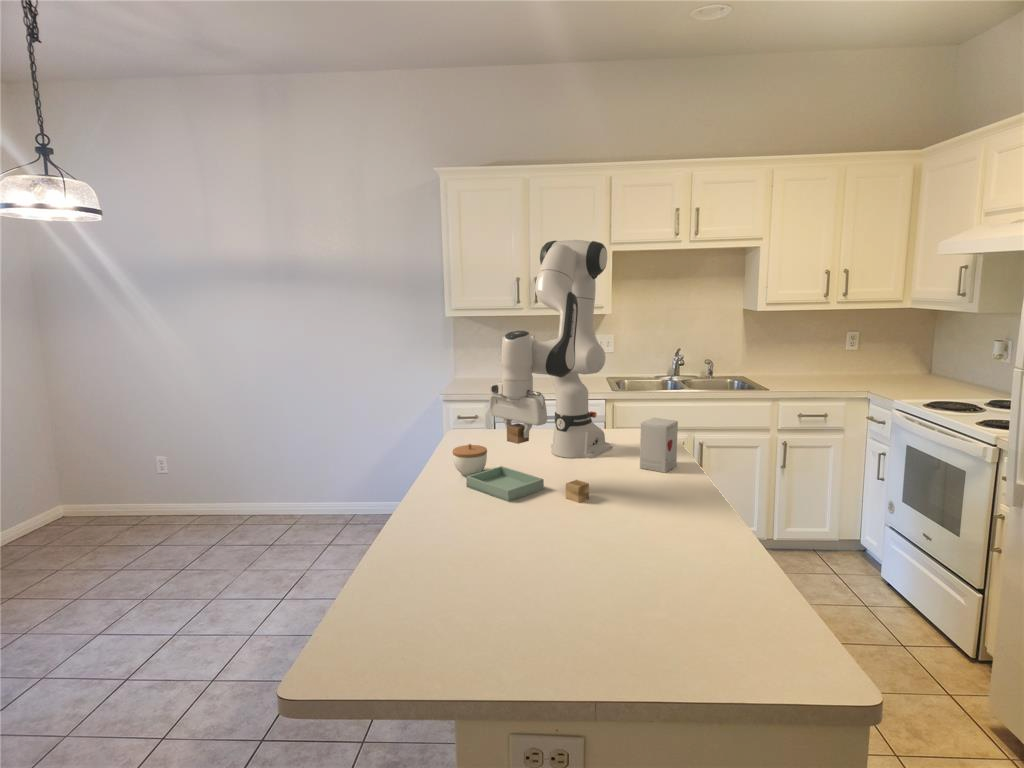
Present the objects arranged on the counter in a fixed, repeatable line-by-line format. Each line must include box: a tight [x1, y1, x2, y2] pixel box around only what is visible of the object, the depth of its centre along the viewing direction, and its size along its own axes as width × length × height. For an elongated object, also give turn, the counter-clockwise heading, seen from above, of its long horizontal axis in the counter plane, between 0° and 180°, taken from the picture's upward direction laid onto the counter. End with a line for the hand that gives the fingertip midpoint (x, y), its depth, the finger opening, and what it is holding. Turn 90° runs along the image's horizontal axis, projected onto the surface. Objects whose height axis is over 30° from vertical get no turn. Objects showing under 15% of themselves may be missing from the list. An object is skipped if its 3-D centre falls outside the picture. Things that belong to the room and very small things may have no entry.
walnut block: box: [506, 422, 530, 445], centre depth 187 cm, size 4×4×4 cm
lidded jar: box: [452, 443, 488, 477], centre depth 203 cm, size 11×11×9 cm
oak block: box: [565, 479, 590, 504], centre depth 179 cm, size 4×4×4 cm
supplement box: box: [639, 417, 679, 474], centre depth 205 cm, size 9×9×15 cm
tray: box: [465, 465, 545, 503], centre depth 189 cm, size 14×18×3 cm
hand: (517, 435), depth 187 cm, fingers closed on walnut block, 4 cm apart
